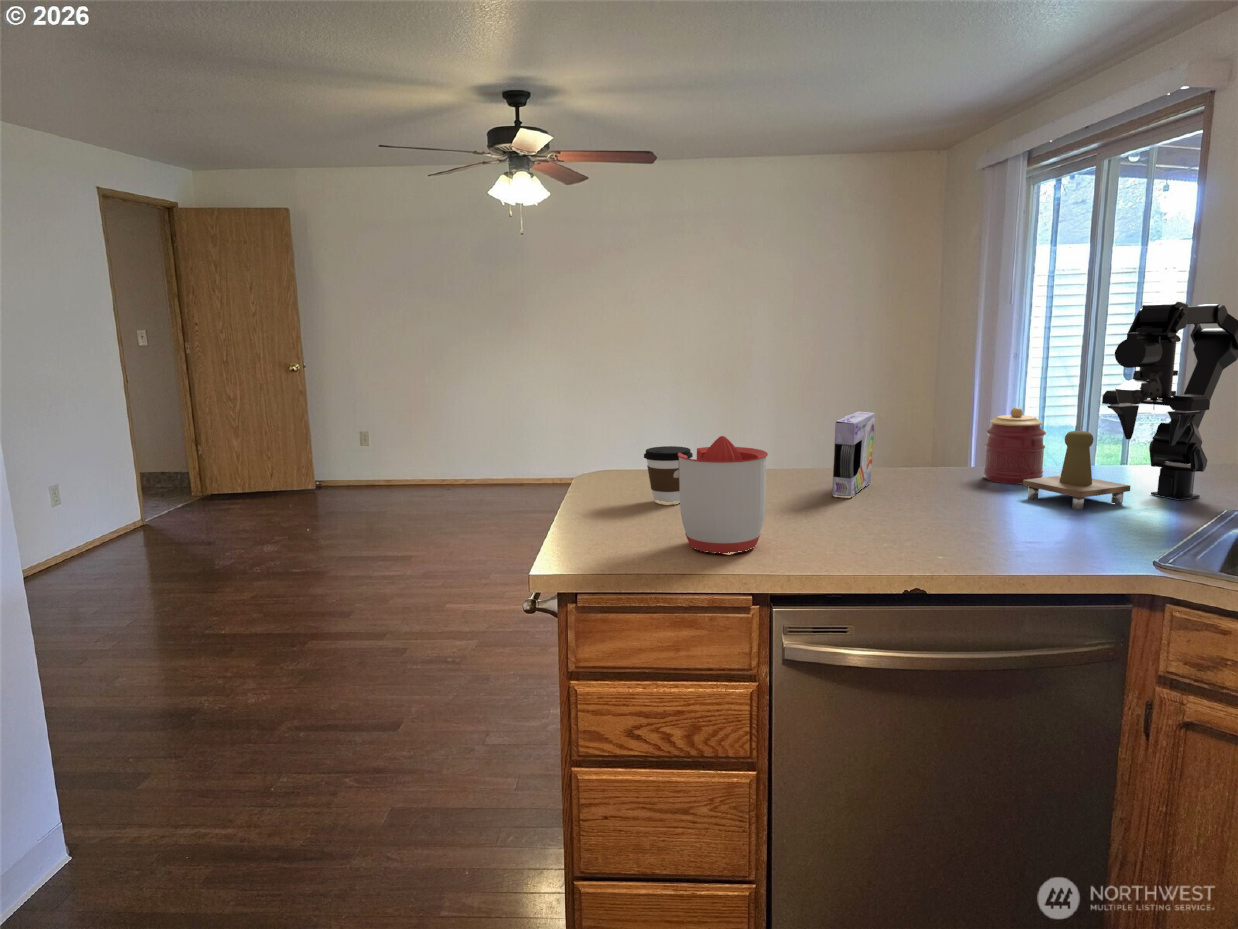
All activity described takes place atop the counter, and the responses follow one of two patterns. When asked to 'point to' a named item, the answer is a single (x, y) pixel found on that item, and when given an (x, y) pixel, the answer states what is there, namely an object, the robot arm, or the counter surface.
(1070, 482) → the cork
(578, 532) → the counter surface
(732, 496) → the citrus juicer
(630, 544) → the counter surface
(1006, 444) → the canister
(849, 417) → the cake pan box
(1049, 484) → the shelf board
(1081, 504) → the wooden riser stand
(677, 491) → the coffee cup
